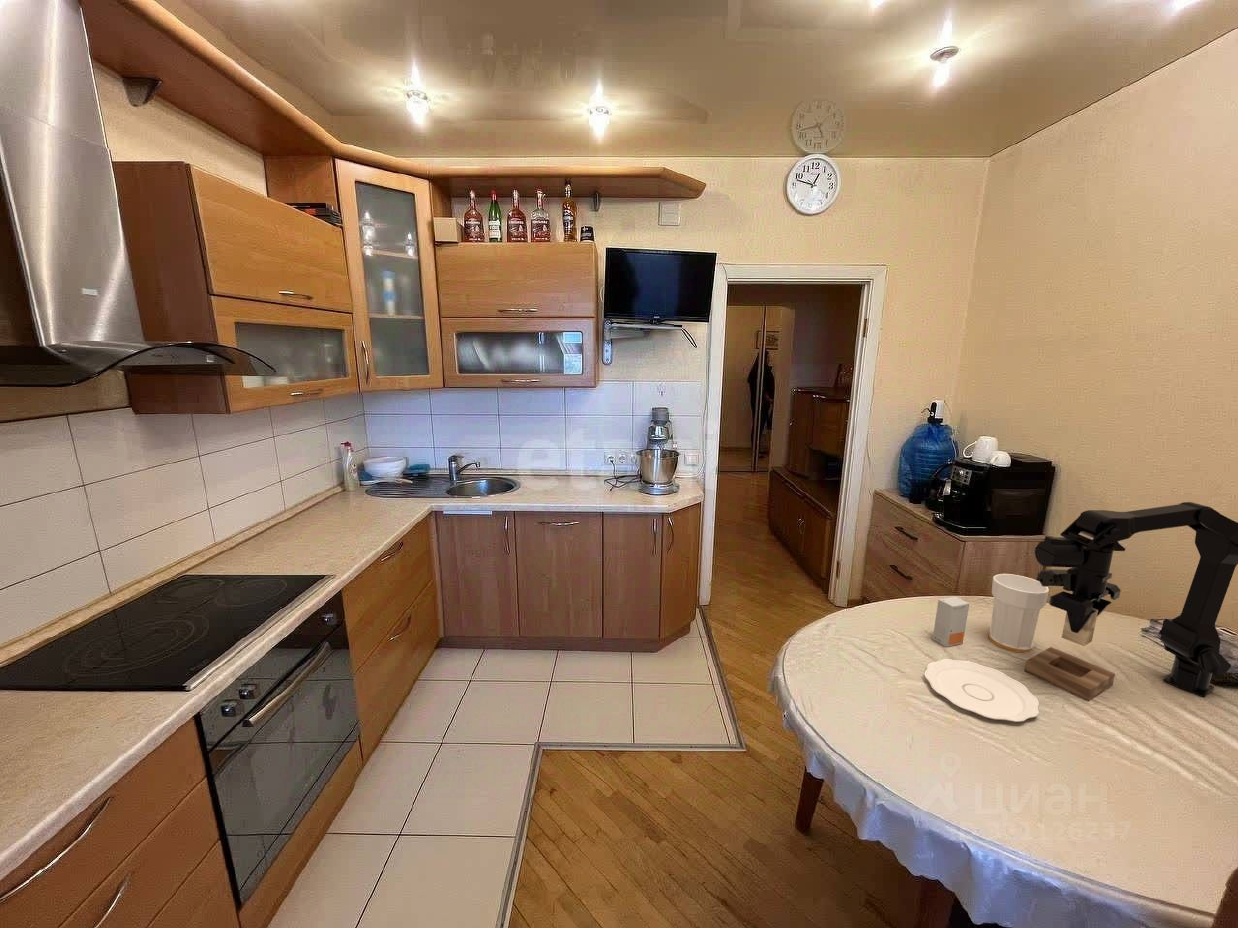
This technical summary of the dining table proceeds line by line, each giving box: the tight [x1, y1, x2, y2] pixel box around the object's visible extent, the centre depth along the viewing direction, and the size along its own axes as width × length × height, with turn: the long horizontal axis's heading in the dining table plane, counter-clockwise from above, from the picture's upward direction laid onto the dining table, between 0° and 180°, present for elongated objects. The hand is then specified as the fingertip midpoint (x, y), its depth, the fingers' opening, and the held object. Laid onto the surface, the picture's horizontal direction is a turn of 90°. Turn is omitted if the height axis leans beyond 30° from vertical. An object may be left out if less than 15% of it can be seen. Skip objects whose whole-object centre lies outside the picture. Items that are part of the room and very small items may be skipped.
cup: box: [988, 573, 1050, 653], centre depth 126 cm, size 11×11×17 cm
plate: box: [923, 658, 1040, 723], centre depth 109 cm, size 21×21×2 cm
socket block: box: [1024, 646, 1116, 702], centre depth 113 cm, size 12×12×3 cm
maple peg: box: [1061, 608, 1098, 647], centre depth 110 cm, size 4×4×8 cm
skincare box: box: [932, 596, 970, 648], centre depth 128 cm, size 6×4×12 cm
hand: (1078, 629), depth 110 cm, fingers closed on maple peg, 4 cm apart
